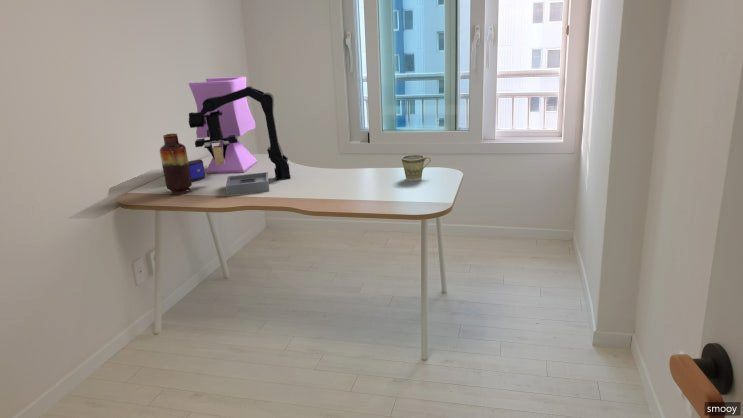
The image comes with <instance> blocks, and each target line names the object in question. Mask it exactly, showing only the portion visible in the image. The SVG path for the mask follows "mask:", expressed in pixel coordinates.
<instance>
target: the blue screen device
mask: <svg viewBox="0 0 743 418" xmlns="http://www.w3.org/2000/svg"><path fill="white" fill-rule="evenodd" d="M188 163H189V169H190V174H191V180H192V183H193V182H196V181H200V180H202V179H205V177H206V172H205V165H204V161H203V160H202V159H195V160H190V161H189V160H188Z"/></svg>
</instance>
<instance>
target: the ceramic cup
mask: <svg viewBox="0 0 743 418" xmlns="http://www.w3.org/2000/svg"><path fill="white" fill-rule="evenodd" d="M426 159H429V160H428V162H427V163H426V164H425V165H424V163H425V161H426ZM401 162H402V166H403V170H404V175H405V176H404V177H405V179H406V181H407V182H408V181H409V182H416V181H417V182H418V181H420V180H422V178H423V171H424V169H425V168H426V167H427V166H428V165H429V164H430V163H431V157H429V156H424V155H422V154H407V155H404V156H402V157H401Z"/></svg>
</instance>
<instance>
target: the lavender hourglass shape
mask: <svg viewBox="0 0 743 418" xmlns="http://www.w3.org/2000/svg"><path fill="white" fill-rule="evenodd" d="M188 86H189V88H190V91H191V93H192V96H193V98H194V101H195V104H196V109H197V111H196V112H201V110H202V108H203V102H204V100H206V99H207V98H209V97H215V96H223V95H226V94H229V93H232V92H235V91H238V90H241V89H244V88H246V87H247V76H227V77H224V76H223V77H210V78H209V77H208V78H205V81H200V82H197V81H196V82H188ZM247 99H248V96H247V97H244V98H241V99H238V100H235V101H232V102H229V103H227V104H224V105H222V106H221V107H219V108H217V109H215V110H214V111H211V112H217V110H220V111H221V112H222V113H223V114H222V115H220V116H219V119H220V125H221V130H222V132H223V138H228V136H229V135H237V137H238V138H239V137H242V136H244V135H245V134H246V133H247V132H249V131H252V130H254V129H256V121H255V119H254V117H253V115H252V112H251V110H250V107H249V104H248V100H247ZM208 114H210V112H207V113H206V114H205V115H208ZM205 118H206V117H205ZM207 130H208V126H207V120H206V124H204V127H196V133H195V134H196V138H197V139H202V138H209V137H208V136H207ZM220 145H222V146H223V142H220V143H219V144H218V146H220ZM209 162H210V163H209V164H208V166H207V169H206V174H232V173H236V174H237V173H239V174H241V173H245V172H247V171H248V170H249V169H250V168H252V167H254V166H255V165H256V164H257V163H258V161H257V159H256V158H255V157H254V156H253V154H252V153H251V152H249V150H248V149H247V148H246V147H244V145H243V144H242V143H241V142H240V140H238V142H237V143H230V145H228V146H227V149H226V155H225V164H220V165H216V164H215V160H214V158H213V157H212V158H211V160H210V161H209ZM254 164H255V165H254Z"/></svg>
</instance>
